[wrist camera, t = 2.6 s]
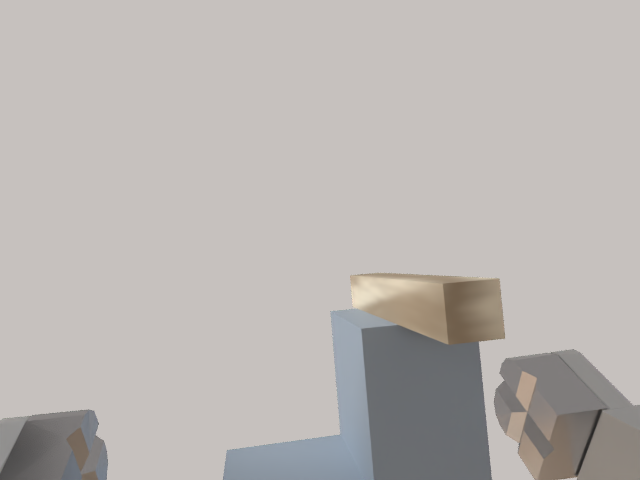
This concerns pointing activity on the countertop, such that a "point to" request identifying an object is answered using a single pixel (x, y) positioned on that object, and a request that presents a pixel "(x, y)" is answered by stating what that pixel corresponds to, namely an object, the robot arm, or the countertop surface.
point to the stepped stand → (388, 412)
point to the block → (434, 304)
